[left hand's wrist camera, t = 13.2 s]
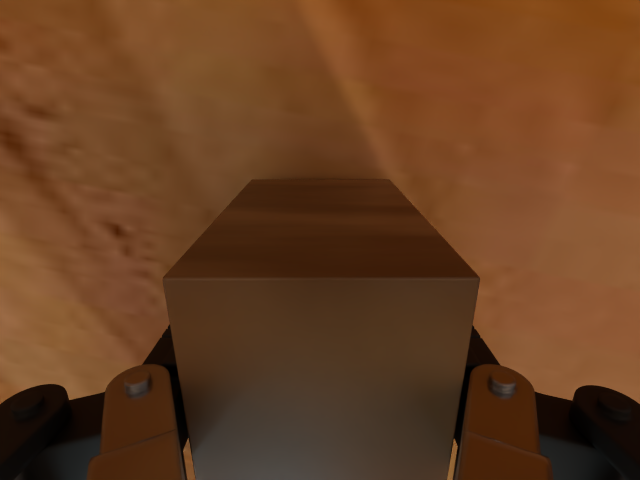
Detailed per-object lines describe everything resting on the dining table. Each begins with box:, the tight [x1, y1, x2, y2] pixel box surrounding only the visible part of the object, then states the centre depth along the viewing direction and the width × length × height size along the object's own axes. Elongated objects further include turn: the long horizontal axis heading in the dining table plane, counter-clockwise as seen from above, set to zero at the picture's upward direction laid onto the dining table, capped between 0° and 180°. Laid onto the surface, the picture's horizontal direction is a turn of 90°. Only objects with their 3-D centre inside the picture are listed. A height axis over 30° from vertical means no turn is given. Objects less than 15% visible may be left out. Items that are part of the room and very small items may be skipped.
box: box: [163, 179, 480, 480], centre depth 15 cm, size 22×6×10 cm, turn 0°
